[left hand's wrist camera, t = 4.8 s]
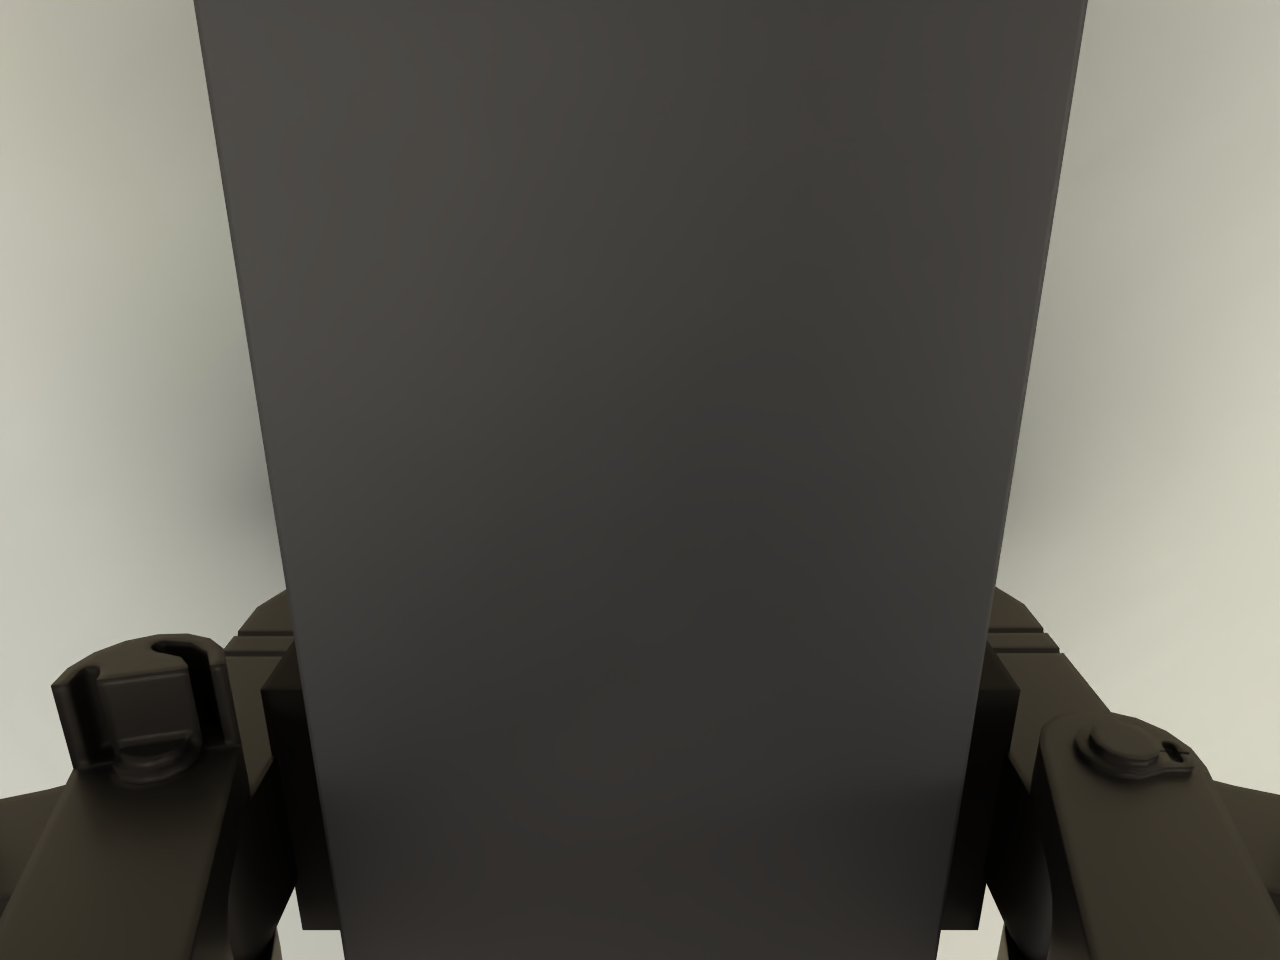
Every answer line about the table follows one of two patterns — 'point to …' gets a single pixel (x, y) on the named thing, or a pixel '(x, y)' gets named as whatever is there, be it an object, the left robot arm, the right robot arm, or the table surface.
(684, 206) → the bar
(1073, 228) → the table surface
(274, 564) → the table surface
